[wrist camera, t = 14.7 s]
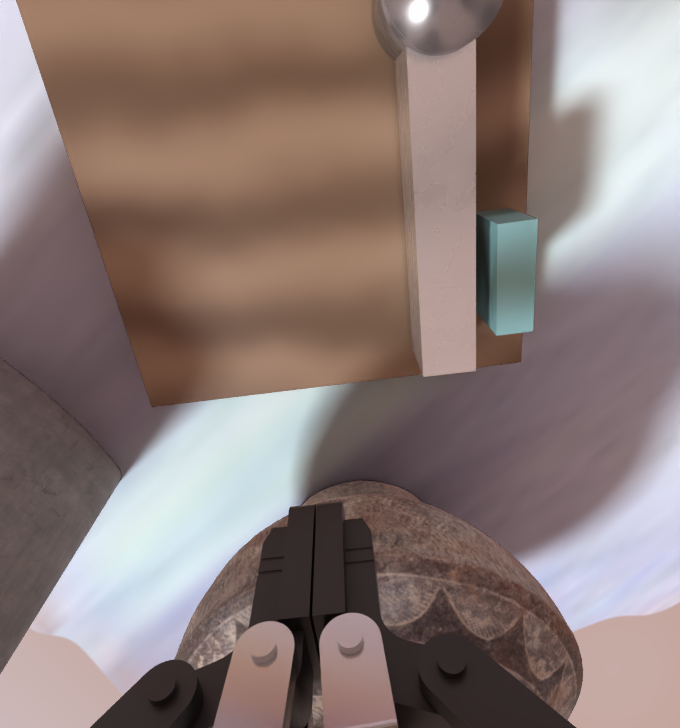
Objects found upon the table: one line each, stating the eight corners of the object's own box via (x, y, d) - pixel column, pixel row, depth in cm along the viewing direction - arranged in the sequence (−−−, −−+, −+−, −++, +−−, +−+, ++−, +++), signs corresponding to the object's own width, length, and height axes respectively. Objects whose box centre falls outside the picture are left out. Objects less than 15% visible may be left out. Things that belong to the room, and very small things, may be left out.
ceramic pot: (272, 367, 35) (179, 730, 13) (561, 468, 39) (844, 866, 18) (185, 595, 45) (49, 1022, 23) (426, 656, 49) (502, 1064, 27)
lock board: (44, -1, 26) (-56, -50, 19) (514, -73, 25) (580, -151, 18) (165, 386, 36) (127, 442, 29) (505, 344, 35) (547, 393, 28)
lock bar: (366, -49, 23) (376, -99, 18) (473, -64, 22) (512, -119, 18) (396, 351, 31) (408, 388, 26) (474, 342, 31) (500, 378, 26)
